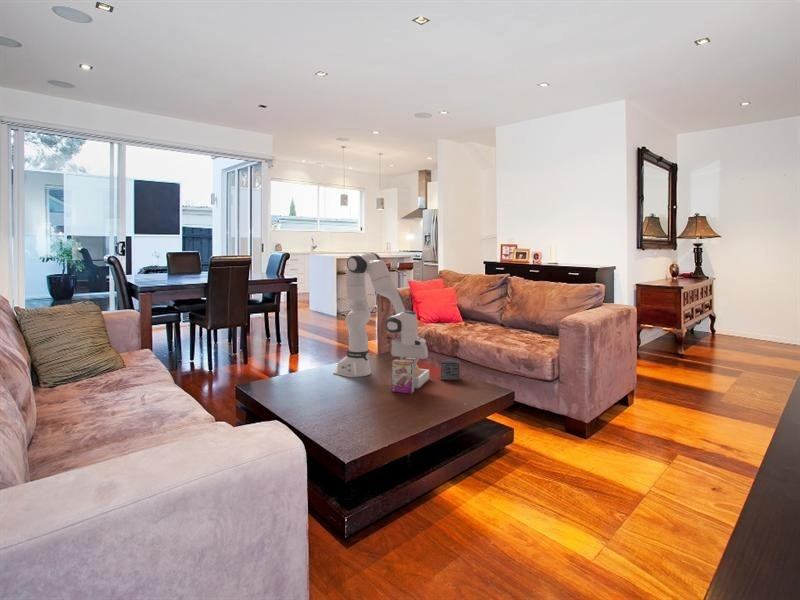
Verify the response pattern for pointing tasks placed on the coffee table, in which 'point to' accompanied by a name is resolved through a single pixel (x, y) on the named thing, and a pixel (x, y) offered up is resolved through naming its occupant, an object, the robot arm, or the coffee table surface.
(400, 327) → the robot arm
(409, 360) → the maple cube
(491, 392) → the coffee table surface
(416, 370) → the peach capsule
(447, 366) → the small box
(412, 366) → the candy bar box
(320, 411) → the coffee table surface
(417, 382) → the white tote
